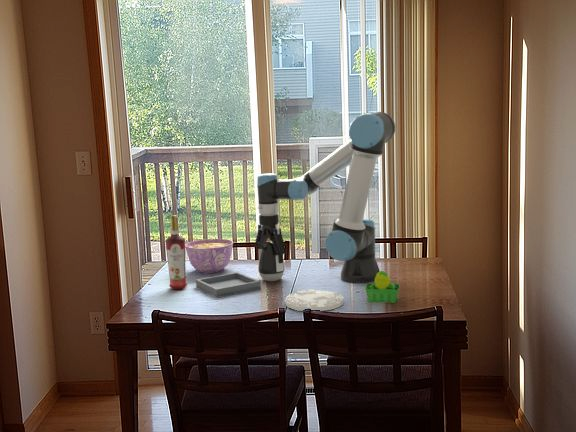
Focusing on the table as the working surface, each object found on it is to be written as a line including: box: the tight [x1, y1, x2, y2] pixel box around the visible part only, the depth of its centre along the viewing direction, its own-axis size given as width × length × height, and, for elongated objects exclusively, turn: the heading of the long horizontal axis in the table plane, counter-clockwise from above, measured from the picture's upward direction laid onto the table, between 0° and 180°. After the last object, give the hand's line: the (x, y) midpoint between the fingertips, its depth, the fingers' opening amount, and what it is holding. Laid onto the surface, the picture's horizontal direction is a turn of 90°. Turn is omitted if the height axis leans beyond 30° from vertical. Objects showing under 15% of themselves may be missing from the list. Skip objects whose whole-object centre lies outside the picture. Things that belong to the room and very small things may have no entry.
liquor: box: [164, 214, 188, 291], centre depth 275 cm, size 7×7×28 cm
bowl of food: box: [185, 238, 234, 274], centre depth 302 cm, size 20×20×12 cm
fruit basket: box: [364, 270, 401, 304], centre depth 248 cm, size 11×9×11 cm
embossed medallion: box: [284, 288, 344, 312], centre depth 249 cm, size 20×20×3 cm
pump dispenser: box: [257, 241, 286, 282], centre depth 283 cm, size 10×10×15 cm
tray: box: [195, 271, 261, 298], centre depth 274 cm, size 18×18×3 cm
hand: (271, 268), depth 283 cm, fingers open, 13 cm apart
